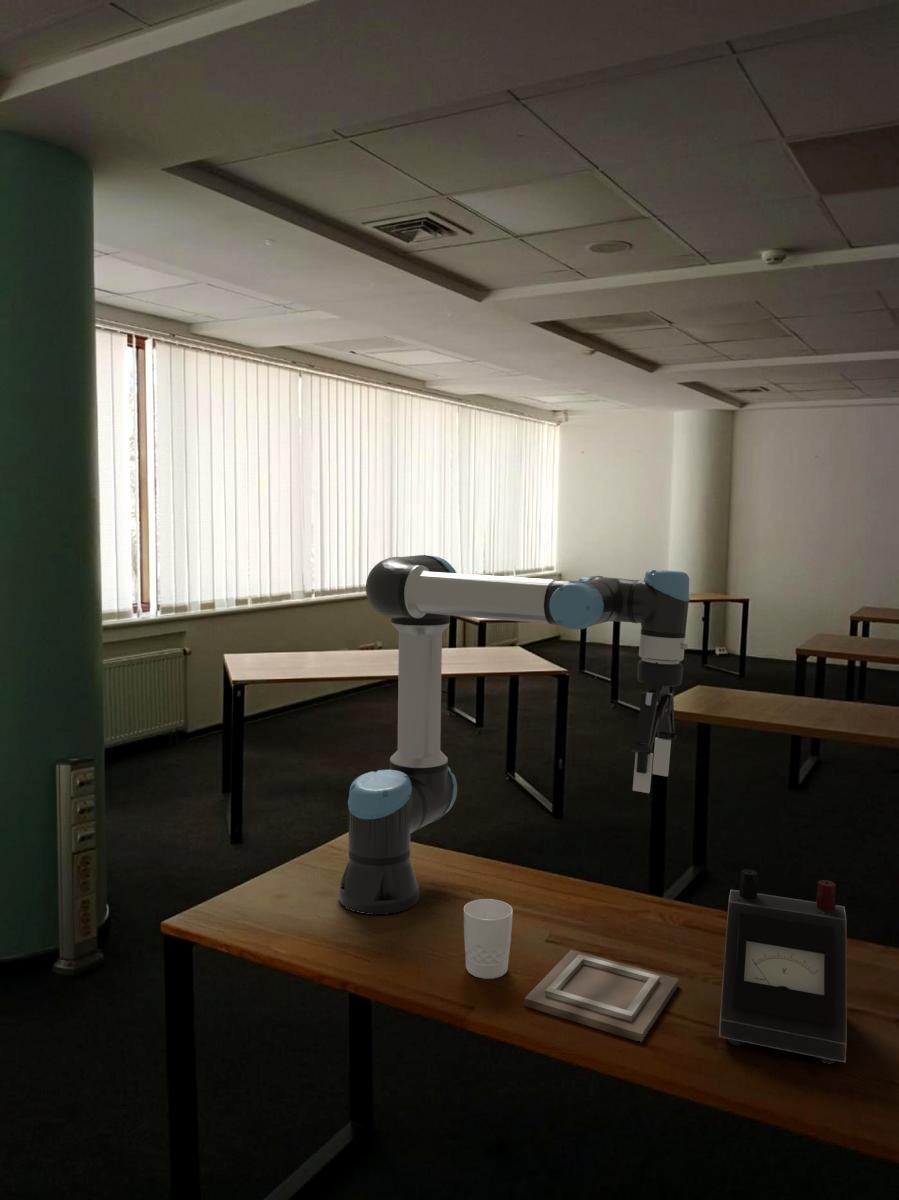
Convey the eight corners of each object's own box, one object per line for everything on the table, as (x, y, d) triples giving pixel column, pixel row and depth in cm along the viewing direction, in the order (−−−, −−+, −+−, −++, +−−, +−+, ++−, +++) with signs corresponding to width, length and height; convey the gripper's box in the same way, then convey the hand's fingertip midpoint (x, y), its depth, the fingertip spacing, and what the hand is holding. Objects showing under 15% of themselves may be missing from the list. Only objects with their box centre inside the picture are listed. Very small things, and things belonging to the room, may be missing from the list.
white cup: (477, 985, 141) (478, 923, 140) (453, 963, 148) (454, 904, 147) (520, 974, 145) (522, 914, 144) (495, 953, 152) (496, 895, 151)
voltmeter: (718, 1047, 126) (724, 908, 124) (725, 990, 141) (731, 865, 139) (844, 1074, 120) (853, 928, 118) (838, 1011, 136) (845, 882, 134)
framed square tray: (524, 1005, 136) (524, 993, 135) (571, 956, 151) (571, 945, 151) (641, 1042, 127) (641, 1028, 126) (678, 986, 142) (678, 973, 142)
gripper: (666, 670, 142) (655, 803, 144) (697, 656, 165) (687, 772, 166) (619, 664, 146) (609, 794, 147) (656, 652, 168) (647, 765, 169)
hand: (651, 783), depth 157 cm, fingers open, 13 cm apart
